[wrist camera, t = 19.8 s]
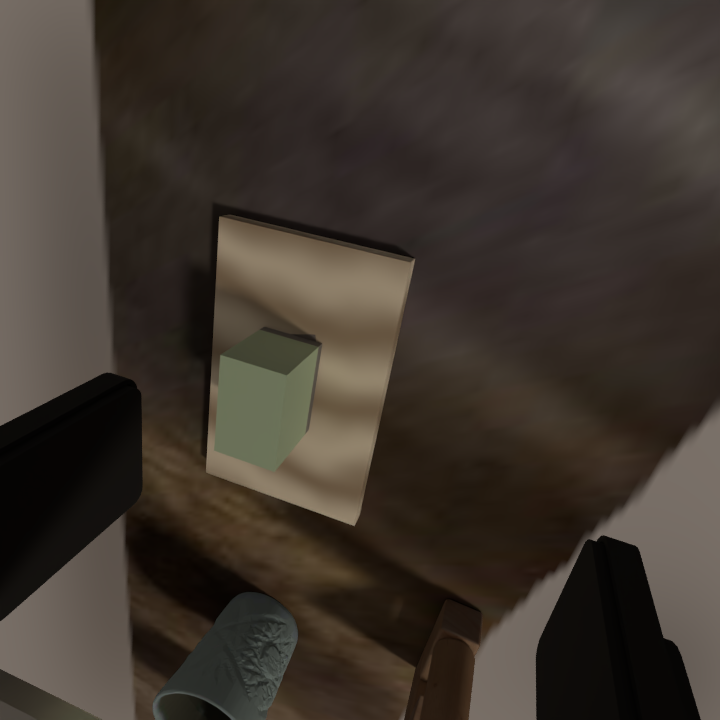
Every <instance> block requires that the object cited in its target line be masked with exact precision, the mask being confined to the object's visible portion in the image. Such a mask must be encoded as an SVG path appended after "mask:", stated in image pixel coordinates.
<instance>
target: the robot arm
mask: <svg viewBox="0 0 720 720" xmlns="http://www.w3.org/2000/svg"><path fill="white" fill-rule="evenodd" d="M141 492H142V409H141V392H140V391H139V390H138V389H137V385H136V384H135V382H134V381H133V380H131V379H128V378H125V377H122V376H118V375H115V374H112V373H104V374H102V375H100V376H98V377H96V378H94V379H92V380H90V381H88V382H86V383H84V384H82V385H80V386H78V387H76V388H74V389H72V390H70V391H68V392H66V393H64V394H62V395H60V396H58V397H56V398H54V399H52V400H50V401H49V402H47V403H45V404H43V405H41V406H39V407H37V408H35V409H33V410H31V411H29V412H27V413H25V414H23V415H21V416H19V417H17V418H15V419H13V420H12V421H9V422H7V423H5V424H4V425H1V426H0V621H1V620H3V619H4V618H5V617H6V616H7V615H9V613H11V612H12V611H13V610H14V609H15V608H16V607H17V606H19V605H20V604H21V603H22V602H23V601H24V600H26V599H27V598H28V597H29V596H30V595H31V594H32V593H34V592H35V591H36V590H37V589H38V588H39V587H40V586H41V585H43V584H44V583H45V582H46V581H47V580H48V579H49V578H51V577H52V576H53V575H54V574H55V573H56V572H57V571H59V570H60V569H61V568H62V567H63V566H64V565H65V564H67V562H69V561H70V560H71V559H72V558H73V557H74V556H76V555H77V554H78V553H79V552H80V551H81V550H82V549H84V548H85V547H86V546H87V545H88V544H89V543H90V542H91V541H93V540H94V539H95V538H96V537H97V536H98V535H100V534H101V533H102V532H103V531H104V530H105V529H106V528H108V527H109V526H110V525H111V524H112V523H113V522H114V521H115V520H117V519H118V518H119V517H120V516H121V515H122V514H123V513H125V512H126V511H127V510H128V509H129V508H130V507H131V506H133V505H134V504H135V503H136V501H137V500H138V499H139V497H140V495H141ZM536 710H537V711H536V716H537V720H701V719H700V716H699V712H698V709H697V706H696V702H695V699H694V696H693V693H692V689H691V686H690V683H689V679H688V676H687V673H686V670H685V666H684V663H683V660H682V656H681V654H680V652H679V650H678V647H677V646H676V645H675V644H674V643H673V642H672V641H670V640H667V639H665V638H663V635H662V631H661V627H660V624H659V620H658V617H657V613H656V609H655V606H654V602H653V598H652V595H651V591H650V587H649V584H648V580H647V577H646V573H645V569H644V566H643V562H642V558H641V555H640V552H639V549H638V548H637V547H636V546H634V545H631V544H628V543H625V542H622V541H619V540H616V539H613V538H610V537H607V536H604V535H603V536H601V537H600V538H599V539H598V540H597V542H596V541H593V540H590V539H589V540H587V541H586V542H585V544H584V546H583V548H582V550H581V552H580V554H579V557H578V559H577V561H576V563H575V565H574V567H573V569H572V571H571V574H570V576H569V578H568V580H567V582H566V584H565V586H564V588H563V591H562V593H561V595H560V597H559V599H558V601H557V603H556V605H555V608H554V610H553V612H552V614H551V616H550V618H549V621H548V623H547V625H546V627H545V629H544V631H543V633H542V635H541V638H540V640H539V644H538V647H537V653H536ZM0 720H102V719H100V718H98V717H95V716H94V715H92V714H90V713H88V712H85V711H84V710H82V709H80V708H78V707H75V706H74V705H72V704H69V703H67V702H66V701H64V700H62V699H60V698H58V697H55V696H54V695H52V694H50V693H47V692H45V691H43V690H41V689H39V688H37V687H35V686H33V685H31V684H29V683H27V682H25V681H23V680H21V679H19V678H17V677H15V676H13V675H11V674H9V673H7V672H5V671H3V670H1V669H0Z"/></svg>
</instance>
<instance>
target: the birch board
mask: <svg viewBox="0 0 720 720" xmlns="http://www.w3.org/2000/svg"><path fill="white" fill-rule="evenodd" d="M414 262H415V259H414V258H410V257H406V256H402V255H398V254H393V253H389V252H385V251H381V250H377V249H373V248H368V247H364V246H360V245H356V244H352V243H347V242H343V241H339V240H335V239H331V238H327V237H322V236H318V235H314V234H310V233H306V232H301V231H297V230H293V229H289V228H285V227H281V226H276V225H272V224H268V223H264V222H260V221H255V220H251V219H247V218H243V217H239V216H235V215H230V214H229V215H224V216H219V233H218V252H217V271H216V290H215V309H214V329H213V348H212V367H211V386H210V406H209V425H208V444H207V463H206V473H209V474H212V475H215V476H217V477H220V478H223V479H226V480H228V481H231V482H234V483H237V484H240V485H242V486H245V487H248V488H251V489H253V490H256V491H259V492H262V493H264V494H267V495H270V496H273V497H276V498H278V499H281V500H284V501H287V502H289V503H292V504H295V505H298V506H300V507H303V508H306V509H309V510H312V511H314V512H317V513H320V514H323V515H325V516H328V517H331V518H334V519H336V520H339V521H342V522H345V523H348V524H350V525H353V526H355V524H356V522H357V519H358V517H359V515H360V510H361V506H362V501H363V497H364V492H365V487H366V483H367V478H368V474H369V469H370V464H371V460H372V455H373V451H374V446H375V441H376V437H377V432H378V428H379V423H380V418H381V414H382V409H383V405H384V400H385V395H386V391H387V386H388V382H389V377H390V372H391V368H392V363H393V359H394V354H395V349H396V345H397V340H398V335H399V331H400V326H401V322H402V317H403V312H404V308H405V303H406V299H407V294H408V289H409V285H410V280H411V276H412V271H413V266H414ZM263 327H268V328H271V329H274V330H278V331H281V332H285V333H288V334H292V335H295V336H298V337H302V338H305V339H309V340H312V341H316V342H319V343H322V349H321V356H320V362H319V369H318V375H317V381H316V388H315V394H314V401H313V407H312V413H311V420H310V426H309V430H308V431H307V433H306V434H305V435H304V436H303V438H302V439H301V440H300V441H299V443H298V444H297V445H296V446H295V447H294V449H293V450H292V451H291V452H290V454H289V455H288V456H287V457H286V459H285V460H284V461H283V462H282V464H281V465H280V466H279V467H278V468H277V470H276V471H275V472H273V471H270V470H267V469H264V468H262V467H259V466H256V465H253V464H250V463H248V462H245V461H242V460H239V459H236V458H233V457H231V456H228V455H225V454H222V453H219V452H217V451H214V445H215V430H216V414H217V399H218V383H219V368H220V355H221V354H222V353H224V352H226V351H227V350H229V349H230V348H232V347H233V346H235V345H236V344H238V343H240V342H241V341H243V340H244V339H246V338H247V337H249V336H250V335H252V334H254V333H255V332H257V331H258V330H260V329H261V328H263Z"/></svg>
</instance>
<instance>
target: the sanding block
mask: <svg viewBox="0 0 720 720" xmlns="http://www.w3.org/2000/svg"><path fill="white" fill-rule="evenodd" d="M321 349H322V343H319V342H316V341H312V340H309V339H305V338H302V337H298V336H295V335H292V334H288V333H285V332H281V331H278V330H274V329H271V328H268V327H263V328H261V329H260V330H258V331H257V332H255V333H254V334H252V335H250V336H249V337H247V338H246V339H244V340H243V341H241V342H240V343H238V344H236V345H235V346H233V347H232V348H230V349H229V350H227V351H226V352H224V353H222V354H221V355H220V368H219V383H218V399H217V414H216V430H215V445H214V451H217V452H219V453H222V454H225V455H228V456H231V457H233V458H236V459H239V460H242V461H245V462H248V463H250V464H253V465H256V466H259V467H262V468H264V469H267V470H270V471H273V472H275V471H276V470H277V468H278V467H279V466H280V465H281V464H282V462H283V461H284V460H285V459H286V457H287V456H288V455H289V454H290V452H291V451H292V450H293V449H294V447H295V446H296V445H297V444H298V443H299V441H300V440H301V439H302V438H303V436H304V435H305V434H306V433H307V431H308V430H309V426H310V420H311V413H312V407H313V401H314V394H315V388H316V381H317V375H318V369H319V362H320V356H321Z"/></svg>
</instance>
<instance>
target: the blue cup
mask: <svg viewBox="0 0 720 720" xmlns="http://www.w3.org/2000/svg"><path fill="white" fill-rule="evenodd" d="M297 639H298V629H297V625H296V623H295V620H294V618H293V616H292V615H291V613H290V612H289V611H288V610H287V609H286V608H285V607H284V606H283V605H282V604H281V603H279V602H278V601H277V600H275V599H273V598H271V597H269V596H267V595H264V594H261V593H256V592H245V593H241V594H239V595H237V596H236V597H234V598H233V599H232V600H231V601H230V602H229V604H228V605H227V606H226V607H225V609H224V610H223V611H222V613H221V614H220V615H219V616H218V618H217V619H216V621H215V624H214V626H213V627H212V628H211V629H210V631H209V632H208V633H207V634H206V635H205V636H204V637H203V638H202V640H201V641H200V642H199V643H198V645H197V646H196V648H195V649H194V651H193V652H192V653H190V654H189V656H188V657H187V659H186V660H185V662H184V663H183V664H182V665H181V667H180V668H179V669H178V670H177V671H176V673H175V674H174V675H173V676H172V677H171V678H170V679H169V681H168V682H167V683H166V684H165V686H164V687H163V688H162V689H161V690H160V692H159V693H158V694H157V696H156V697H155V699H154V701H153V714H154V717H155V720H265V719H266V717H267V710H268V708H269V707H270V706H271V705H272V702H273V700H274V698H275V696H276V693H277V689H278V687H279V685H280V683H281V681H282V678H283V674H284V672H285V670H286V667H287V665H288V663H289V660H290V658H291V656H292V653H293V651H294V648H295V646H296V643H297Z"/></svg>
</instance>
